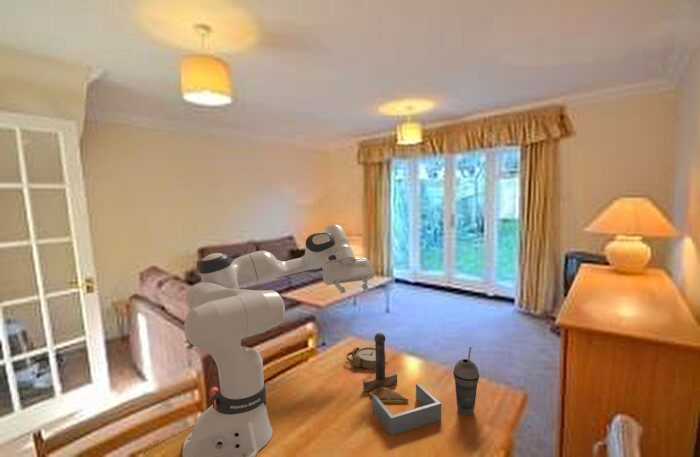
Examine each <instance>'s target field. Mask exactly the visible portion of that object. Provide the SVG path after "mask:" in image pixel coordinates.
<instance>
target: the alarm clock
mask: <svg viewBox="0 0 700 457" xmlns="http://www.w3.org/2000/svg"><path fill="white" fill-rule="evenodd" d="M386 354H387V353H385V359H386V358H387V357H386V356H387V355H386ZM350 355H351V358H350V357H349V356H350ZM346 360H347V361H348V362H351V363H352V365H353V366H354V368H360V367H361V368H365V369H368V370H376V351H375V347H371V346H370V347H362V348H360V347H358V346H357V347H354V348H353V349H352V351H350V352H347V353H346ZM386 364H387V365H388V362H387V361H385V365H386Z"/></svg>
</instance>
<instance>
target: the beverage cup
mask: <svg viewBox="0 0 700 457" xmlns="http://www.w3.org/2000/svg"><path fill="white" fill-rule="evenodd" d="M471 352H472V347H471V346H469V348H468V357H467V358H465V359H464V358H463V359H460V360H458V361H457V362H456V363H455V365H454V367H453V371H452V372H453V379H454V383H455V384H454V385H455V386H454V387H455V397H456V406H457V412H458V413H459V414H461V415H462V416H466V417H467V416H468V417H469V416H472V415H473V414H475V411H474V410H475V406H476V399H477V398H476V397H477V390H478V383H479V380H480V379H479V378H480V372H479V368H478V366H477V365H476V364H475V362H473V361H472V360H471Z"/></svg>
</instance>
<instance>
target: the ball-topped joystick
mask: <svg viewBox="0 0 700 457" xmlns="http://www.w3.org/2000/svg"><path fill="white" fill-rule="evenodd" d="M385 342H386V336H385V334H384V333H382V332H378V333H376V334H375V335H374V344H375V346H374V348H375V351H376V369H375V377H373V378H370V379H365V380H363V381H362V385H363V386H362V388H363V389H362V390H363V391H364V392H368V391H374V390H375V389H377V388H379V387H388V386H391V385H392V386H393V385H394V384H398V374H397V373H396V372H394V373H390V374H386V363H385V362H386V358H385V354H386V352H385V348H386V347H385V346H386V345H385Z"/></svg>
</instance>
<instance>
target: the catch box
mask: <svg viewBox="0 0 700 457" xmlns="http://www.w3.org/2000/svg"><path fill="white" fill-rule="evenodd" d="M371 399H372V413H373V414H374V415H375V416H376V418H377V419H378V421H379V422H380V423H381V424H382V425H383V427H384V428H385V429H386V430H387V432H388V433H389V435H390V436H395V435H399V434H402V433H404V432H409V431H410V430H414V429H418V428H421V427H424V426H427V425H429V424H433V423H435V422H439V421H442V402H440V401H439V400H438V399H437V398H436V397H435V396H434V395H433V394H431V393H430V392H429V391H428V390H427V389H426V388H425V387H424V386H423V385H422V384H420V383H415V399H416V401H417V402H419V404H421V406H420V407H416V408H413V409H412V408H411V409H410V410H409V409H408V410H405V411H403V412H399V413H395V414H392V413H391V411H390V410H389V409H388V408H387V406H386V405H385V404H384V402H383V403H382V402H381V401H380V399H379V398H378V397H377V396H376V395H372V396H371Z"/></svg>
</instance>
